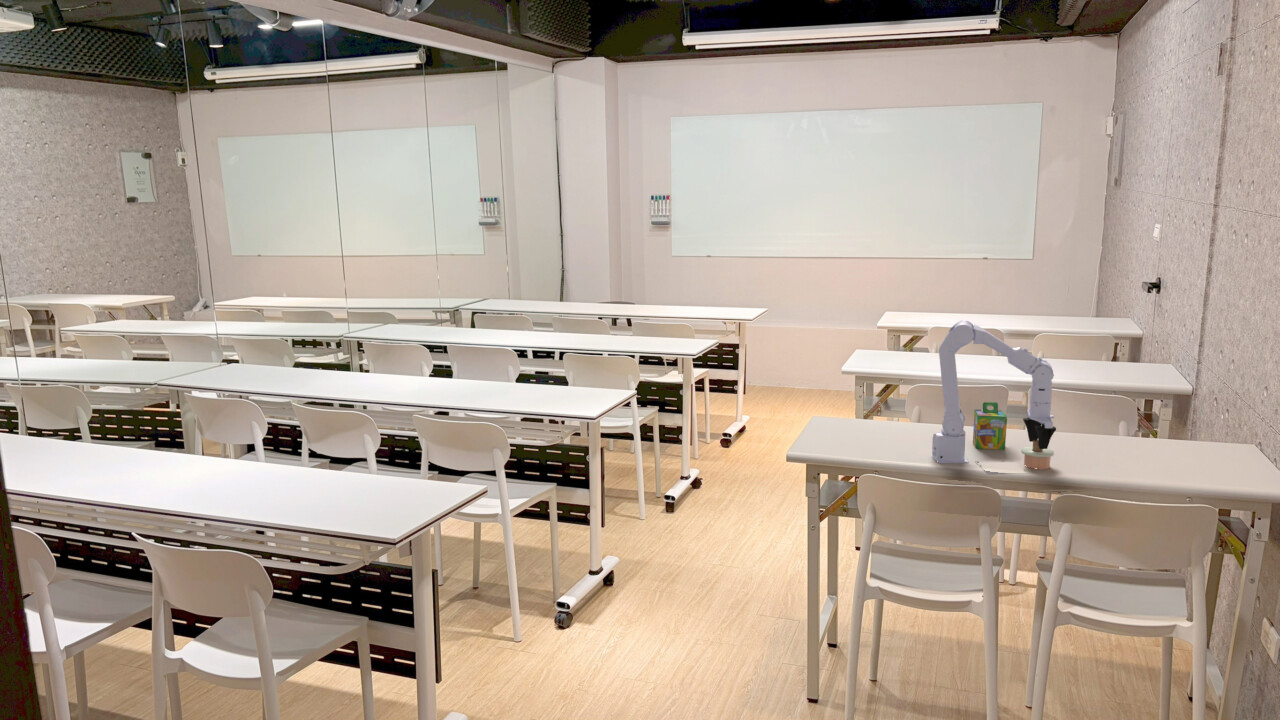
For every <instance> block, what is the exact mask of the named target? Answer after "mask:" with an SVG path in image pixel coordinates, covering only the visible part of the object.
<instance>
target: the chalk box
mask: <svg viewBox="0 0 1280 720" xmlns="http://www.w3.org/2000/svg"><path fill="white" fill-rule="evenodd" d="M989 406H990V407H993V409H988V407H989ZM1007 423H1008V417H1007V415H1006V414H1005V412H1004V411H1003V410H1002V409H1001V410H1000V409H999V404H998V402H994V401H993V402H992V401H991V402H990V401H988V402H987V401H984V402H983V403H982V409H974V412H973V430H972V431H973V432H972V433H973V434H972V444H973V445H974V448H975V450H976V449H977V450H994V451H995V450H998V451H1002V450H1003V451H1004V450H1006V438H1007V425H1008V424H1007Z"/></svg>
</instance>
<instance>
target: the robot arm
mask: <svg viewBox="0 0 1280 720" xmlns="http://www.w3.org/2000/svg"><path fill="white" fill-rule="evenodd" d="M972 341H973V343H972ZM971 343H972V344H973V345H985V346H986V347H989V349H992V350H994V351H996V353H997V352H998V353H999V354H1001V355H1003V356H1005V357H1006V358H1007V362H1008V364H1010V365H1011V366H1013V367H1015V368H1016V369H1018V370H1020V371H1021V372H1023V373H1024V374H1026V375H1031V378H1032V379H1031V382H1032V383H1031V386H1030V398H1029V399H1030V401H1029V409H1026V417H1024V418H1022V421H1023V423H1024V424H1025V427H1026V430H1027V435H1028V442H1031V443H1033V441H1034V440H1038V445H1039V449H1049V448H1048V447H1049V444H1050V441H1051V438H1052V436H1053V435H1054V433H1055V432H1056V431H1057V427H1056V426H1054V422H1053V421H1052V419H1055V415H1053V414H1051V410H1052V409H1051V408H1052V407H1051V406H1052V391H1053V387H1052V384H1053V381H1052V380H1053V379H1054V376H1055V374H1054V370H1053V367H1052V365H1051V364H1050V363H1049V362H1048V361H1047V360H1044V359H1043V358H1042V357H1037V356H1035V355H1034V354H1032V353H1031V352H1029V349H1028V348H1026V347H1023V348H1022V347H1020V346H1017V347H1012V346H1011V345H1009V344H1007V343H1006V342H1004V341H1003V340H1001V339H1000V338H999V337H997V336H996V335H993V334H992V333H991V332H989V331H988V330H986V329H984V328H982V327H981V326H979V325H976V324H973V323H972V322H970V321H969V320H960V321H957V322H956V323H955V324H954V325H952V326H951V327H950V329H949V330H948V332H947V334H946V335H945V337H944V338H943V340H942V342H941V344H940V345H939V348H938V356H939V365H940V374H941V375H940V376H941V384H942V385H941V387H942V394H943V396H942V397H943V398H942V399H943V405H944V406H943V412H944V416H943V420H942V424H941V426H942V429H941V430H940V432H936V433H933V436H932V442H931V443H932V445H931V446H932V449H931V450H932V451H931V455H932V456H933V457H932V456H931V457H932V458H933V459H934V461H935V462H936V461H938V462H939V463H938V464H969V462H970V461H968V460H967V458H966V457H965V455H966V452H965V451H966V450H965V449H966V431H965V430H964V429H965V427H964V426H965V425H964V424H965V420H966V418H965V414H964V412H963V411H962V408H961V407H962V406H961V402H960V393H959V382H958V373H957V363H956V353H957V352H959V350H960V349H961V348H963V347H965V346H968V345H969V344H971Z"/></svg>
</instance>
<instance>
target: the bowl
mask: <svg viewBox="0 0 1280 720" xmlns="http://www.w3.org/2000/svg"><path fill="white" fill-rule="evenodd" d="M1023 465H1026V466H1027V467H1026V466H1025V467H1026V468H1028V467H1031V468H1037V469H1045V470H1047V469H1046V468H1049V467H1051V457H1032V456H1028V455H1025V454H1024V460H1023ZM1031 468H1030V469H1031ZM1037 469H1036V470H1037ZM1049 469H1050V468H1049Z"/></svg>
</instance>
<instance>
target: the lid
mask: <svg viewBox="0 0 1280 720" xmlns="http://www.w3.org/2000/svg"><path fill="white" fill-rule="evenodd" d="M1020 450H1021V453H1022V454H1023V455H1024V456H1025V455H1028V456H1032V457H1050V458H1052V457H1054V456H1055V455H1054V454H1055V452H1054V450H1052V449H1050V448H1047V449H1039V445H1038V440H1034V441H1033V442H1032V446H1025V447H1022V448H1021V449H1020Z"/></svg>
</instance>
